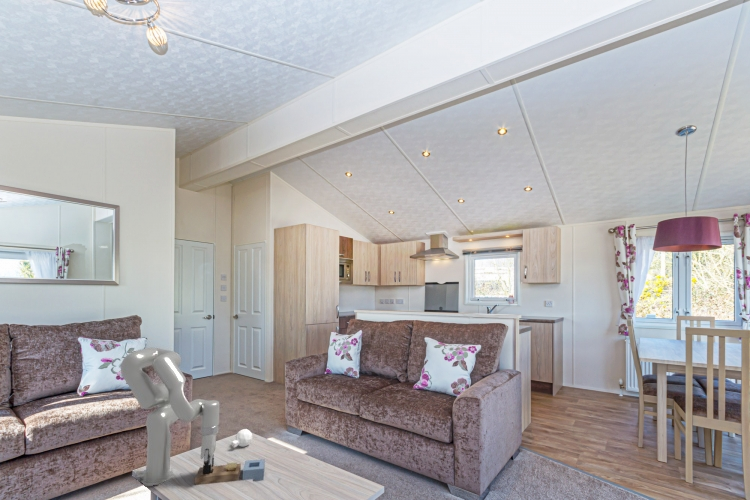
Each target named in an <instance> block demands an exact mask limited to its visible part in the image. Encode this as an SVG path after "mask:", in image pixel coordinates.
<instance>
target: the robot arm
mask: <svg viewBox="0 0 750 500" xmlns="http://www.w3.org/2000/svg"><path fill="white" fill-rule="evenodd" d="M181 363H182V358H181V355H180V354H179V353H177V352H176V351H174V350H167V349H163V348H157V347H146V348H143V349H138V350H135V351H133V352H130V353H128V354H126V355H125V357H124V358H123V359H122V361H121V365H120V373H121V376H122V377H123V378H122V379H123V380H124V382H126V384H127V386H128V387H129V388H130V391H131V392H132V394H133V396H134V399H135V400H136V401H137V403H138V405H139V406H140V407H141V409H144V410H150V409H153V408H154V407H157V408H156V409H154V410H152V411H151V412H150V413H149V414H148V416H147V418H146V421H145V422H146V423H145V425H146V432H147V444H146V446H147V449H146V463H145V469H144V470H142V471H141V470H138V471H135V477H136V479H139V478H140V479H141V481H140V482H142V483H143V484H142V483H141V485H143V486H145V487H154V486H153V485H157V486H159V485H160V484H162V483H164V482H167V481H169V480H171V479H172V477H173V476H174V473H173V472H172V471H171V468H170V467H171V451H172V450H171V448H172V432H171V430H170V425H172V424H174V423H175V422H176V421H178V420H180V421H181V422H183V423H191V422H193V421H194V420H196V419H197V418H199V417H200V416H201V418H200V419H201V420H200V424H201V425H200V435H201V436H202V439H201V445H200V446H201V447H200V459H201V460H203V463H202V464H203V465H202V467H203V475H205V474H210V473H211V464H210V462H211V457H212V467H213V466H215V465H214V462H215V460H214V459H215V457H214V456H215V455H214V454H215V451H216V446H217V434H218V433H219V430H220V429H219V428H220V402H219V400H216V399H213V400H212V399H210V400H207V399H202V398H196V399H194V400H192V401H190V402H189V401H188V399H187V397H186V396H185V392H184V386H185V384H186V380H187V378H186V376H185V374H184V373H183V372H182V370H181V369H180V368H179V367H180V365H181ZM150 366H152V368H153V370H154V371H155V373H156V375H157V376H158V377H159V379H160V380H161V382H159V383H156V384H154V382H153V381H152V379H151V377H150V376H149V375H148V374H147V373H146V372H145V371H143V369H144V368H147V367H150ZM208 456H210V457H208ZM208 459H209V460H208Z"/></svg>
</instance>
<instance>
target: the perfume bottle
mask: <svg viewBox="0 0 750 500" xmlns="http://www.w3.org/2000/svg"><path fill="white" fill-rule="evenodd" d="M252 441H253V433H252V432H251V430H249V429H247V428H243V429H241V430H239V431H238V432H237V433H236V434H235V439H234V440H233V441H231V447H233V448H237V447H238V446H239V447H241V448H245V447H247V446H248V445H249V444H251V443H252Z"/></svg>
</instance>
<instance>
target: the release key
mask: <svg viewBox="0 0 750 500" xmlns="http://www.w3.org/2000/svg"><path fill="white" fill-rule="evenodd" d="M237 464H238V462H228V463H226V464H225V465H226V469H228V472H229V471H235V468H236V466H237Z"/></svg>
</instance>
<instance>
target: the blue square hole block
mask: <svg viewBox="0 0 750 500" xmlns="http://www.w3.org/2000/svg"><path fill="white" fill-rule="evenodd" d="M265 462H266V461H265V458H264V459H263V458H261V459H260V458H259V459H252V460H245V461H244V464H243V469H242V481H247V480H252V482H259V481H264V478H265V470H266V469H265V466H266V465H265V464H266V463H265Z"/></svg>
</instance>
